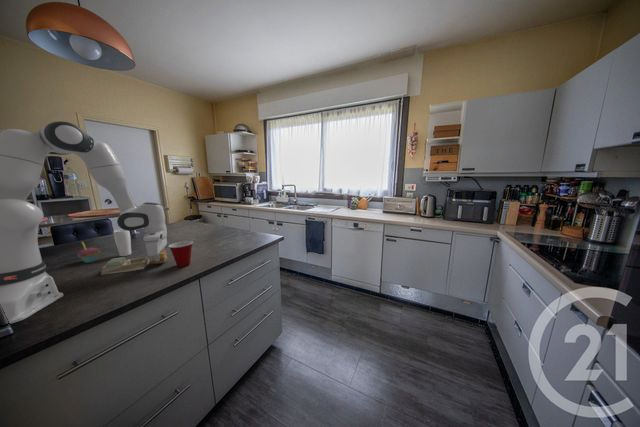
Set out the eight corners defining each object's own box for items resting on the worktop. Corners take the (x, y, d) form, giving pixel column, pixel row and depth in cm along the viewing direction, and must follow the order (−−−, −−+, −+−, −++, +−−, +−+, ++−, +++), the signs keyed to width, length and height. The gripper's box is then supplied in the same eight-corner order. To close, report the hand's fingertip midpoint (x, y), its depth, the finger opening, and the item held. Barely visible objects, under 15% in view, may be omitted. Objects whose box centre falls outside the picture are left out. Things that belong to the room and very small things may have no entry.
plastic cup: (189, 258, 118) (187, 238, 115) (199, 263, 112) (196, 242, 109) (167, 265, 109) (164, 243, 107) (176, 271, 103) (173, 248, 101)
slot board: (143, 268, 105) (142, 259, 104) (101, 275, 98) (99, 265, 98) (150, 261, 114) (148, 252, 113) (111, 266, 107) (110, 257, 106)
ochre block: (164, 262, 110) (163, 253, 109) (152, 263, 108) (151, 254, 107) (167, 258, 114) (165, 250, 113) (155, 260, 112) (154, 251, 111)
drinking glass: (123, 257, 119) (119, 232, 116) (114, 256, 120) (109, 231, 117) (136, 253, 125) (132, 229, 122) (127, 252, 127) (123, 228, 124)
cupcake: (89, 264, 110) (84, 242, 108) (73, 264, 110) (68, 242, 108) (106, 257, 118) (102, 237, 116) (91, 257, 119) (87, 237, 116)
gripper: (155, 229, 116) (158, 252, 119) (141, 239, 98) (145, 266, 100) (168, 228, 119) (171, 251, 121) (158, 237, 101) (161, 264, 103)
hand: (159, 258), depth 111 cm, fingers closed on ochre block, 5 cm apart
